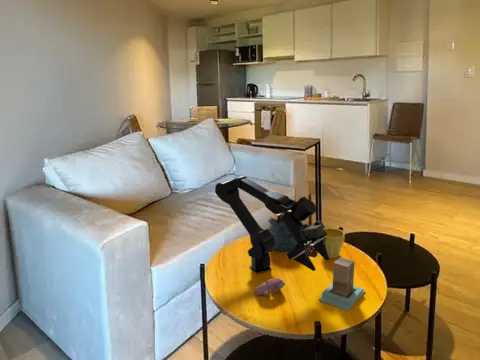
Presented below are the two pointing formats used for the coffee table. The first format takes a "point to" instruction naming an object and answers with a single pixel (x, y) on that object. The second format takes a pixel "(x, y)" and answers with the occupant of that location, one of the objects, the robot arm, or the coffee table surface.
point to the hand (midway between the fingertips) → (321, 265)
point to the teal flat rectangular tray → (339, 300)
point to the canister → (280, 234)
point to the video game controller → (269, 286)
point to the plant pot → (334, 241)
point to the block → (343, 277)
